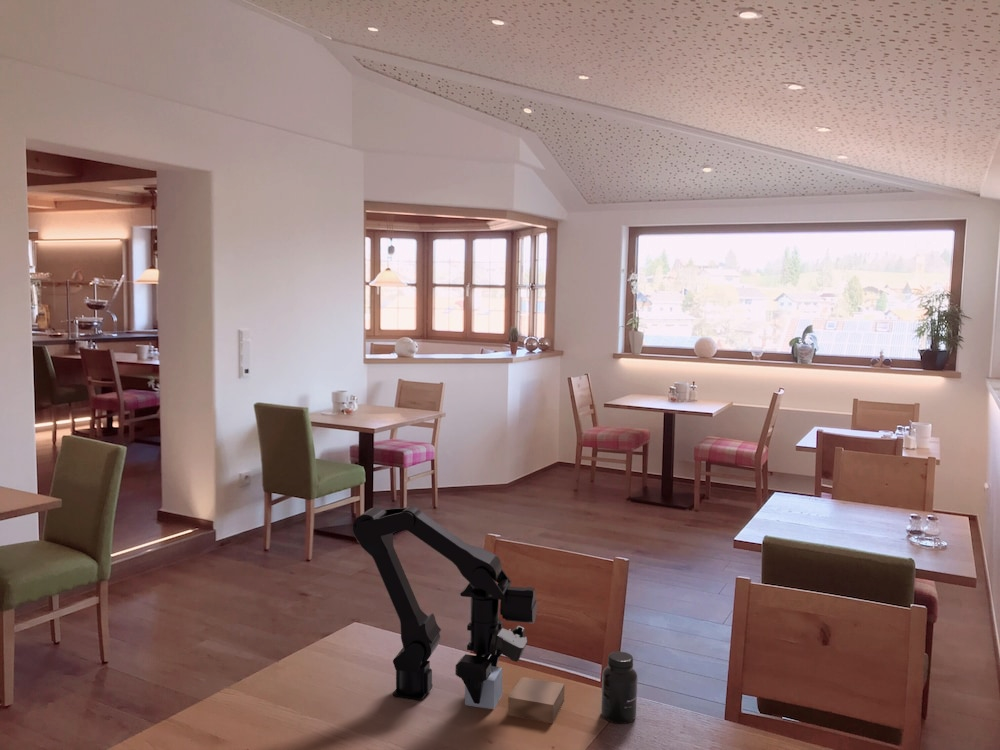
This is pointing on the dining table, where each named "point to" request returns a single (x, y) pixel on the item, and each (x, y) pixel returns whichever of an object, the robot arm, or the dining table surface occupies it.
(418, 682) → the robot arm
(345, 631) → the dining table surface
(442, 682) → the dining table surface
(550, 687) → the tan flat square block
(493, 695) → the slate cube
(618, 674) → the supplement bottle
